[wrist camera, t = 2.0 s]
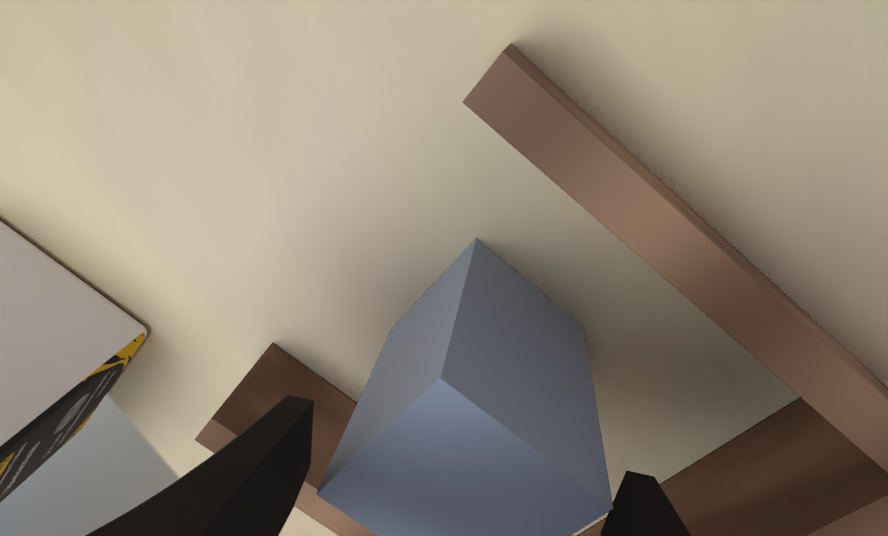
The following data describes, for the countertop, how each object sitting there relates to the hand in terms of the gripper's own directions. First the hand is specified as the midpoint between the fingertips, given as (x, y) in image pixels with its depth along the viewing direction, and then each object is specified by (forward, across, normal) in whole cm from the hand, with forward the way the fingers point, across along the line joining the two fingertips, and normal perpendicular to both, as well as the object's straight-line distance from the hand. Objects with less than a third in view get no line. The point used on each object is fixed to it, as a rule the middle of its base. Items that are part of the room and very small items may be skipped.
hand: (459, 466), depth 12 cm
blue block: (+6, 0, 0) cm, 6 cm away
